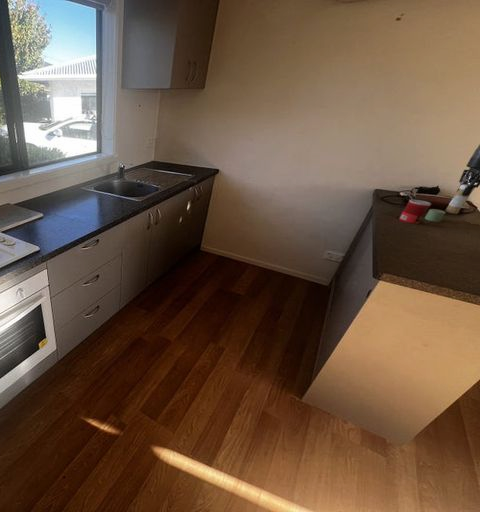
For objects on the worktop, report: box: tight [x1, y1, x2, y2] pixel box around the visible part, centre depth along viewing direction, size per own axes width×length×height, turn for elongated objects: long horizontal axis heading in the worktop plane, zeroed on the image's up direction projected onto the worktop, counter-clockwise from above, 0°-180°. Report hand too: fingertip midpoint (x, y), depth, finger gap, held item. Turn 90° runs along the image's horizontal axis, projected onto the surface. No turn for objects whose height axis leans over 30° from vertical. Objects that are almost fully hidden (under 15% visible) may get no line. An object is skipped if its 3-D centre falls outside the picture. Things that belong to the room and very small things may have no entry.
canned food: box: [398, 199, 432, 225], centre depth 149 cm, size 8×8×11 cm
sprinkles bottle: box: [444, 184, 476, 214], centre depth 139 cm, size 5×5×13 cm
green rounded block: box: [424, 208, 447, 223], centre depth 153 cm, size 6×6×5 cm
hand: (462, 193), depth 138 cm, fingers closed on sprinkles bottle, 4 cm apart
